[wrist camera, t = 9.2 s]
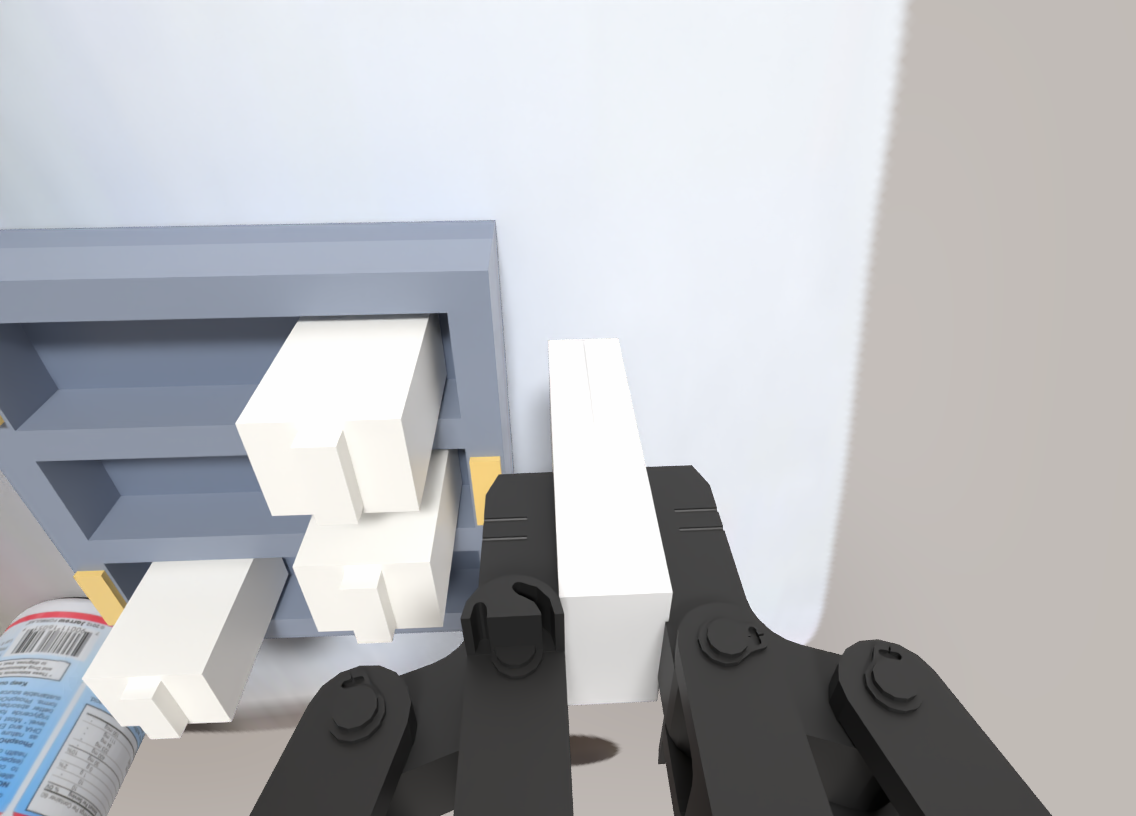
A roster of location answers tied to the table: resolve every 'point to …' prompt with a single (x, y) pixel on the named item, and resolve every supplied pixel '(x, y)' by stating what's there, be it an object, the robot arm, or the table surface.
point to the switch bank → (220, 384)
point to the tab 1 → (186, 643)
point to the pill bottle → (58, 716)
